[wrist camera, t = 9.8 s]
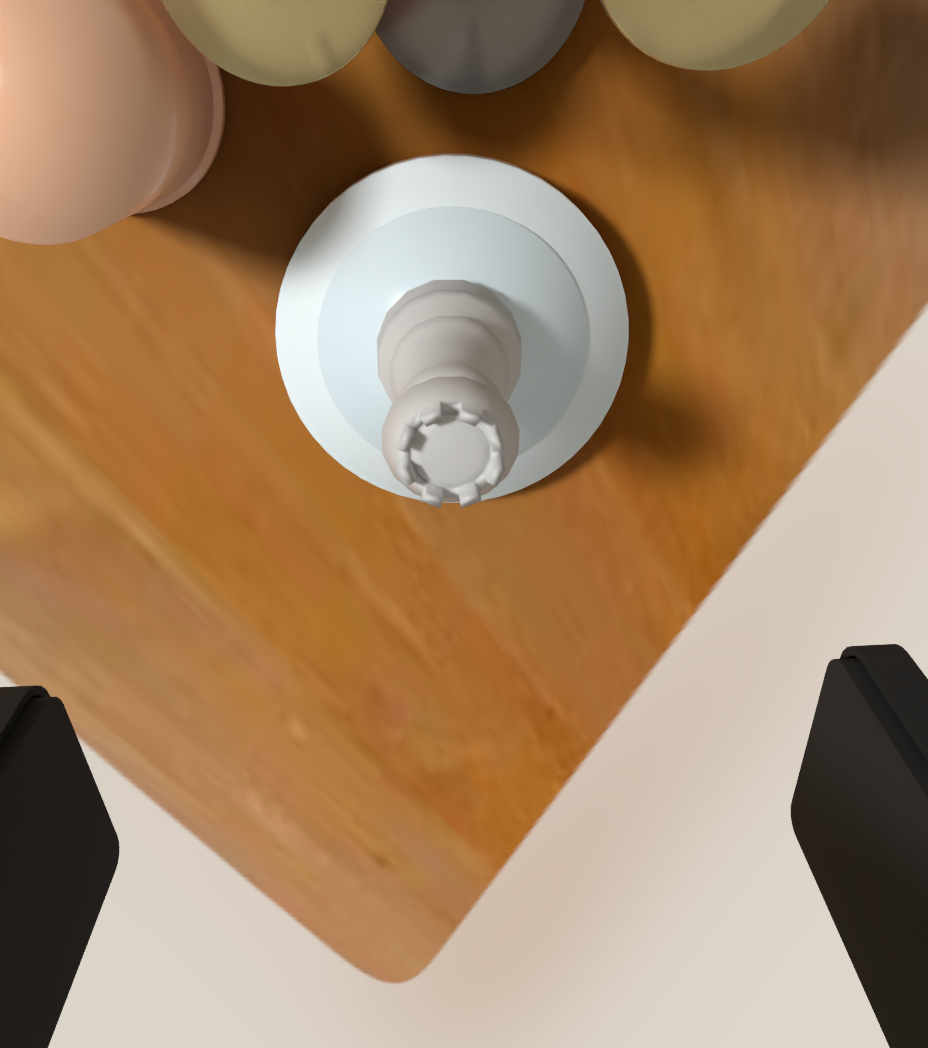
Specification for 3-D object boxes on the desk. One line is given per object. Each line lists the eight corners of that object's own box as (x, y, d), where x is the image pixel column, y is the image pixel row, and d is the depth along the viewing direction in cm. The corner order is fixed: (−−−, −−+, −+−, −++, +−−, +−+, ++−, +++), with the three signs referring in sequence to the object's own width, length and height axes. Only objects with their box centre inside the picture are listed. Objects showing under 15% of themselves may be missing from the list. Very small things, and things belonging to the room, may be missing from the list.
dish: (255, 160, 23) (245, 166, 22) (632, 143, 23) (642, 148, 22) (307, 493, 29) (301, 511, 28) (611, 480, 29) (619, 497, 28)
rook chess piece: (550, 328, 25) (590, 434, 18) (467, 438, 27) (476, 574, 20) (428, 243, 23) (421, 323, 17) (350, 366, 25) (314, 484, 18)
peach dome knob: (-45, -46, 21) (-206, -78, 16) (201, -55, 21) (121, -91, 16) (30, 214, 24) (-83, 258, 19) (243, 206, 24) (188, 247, 19)
